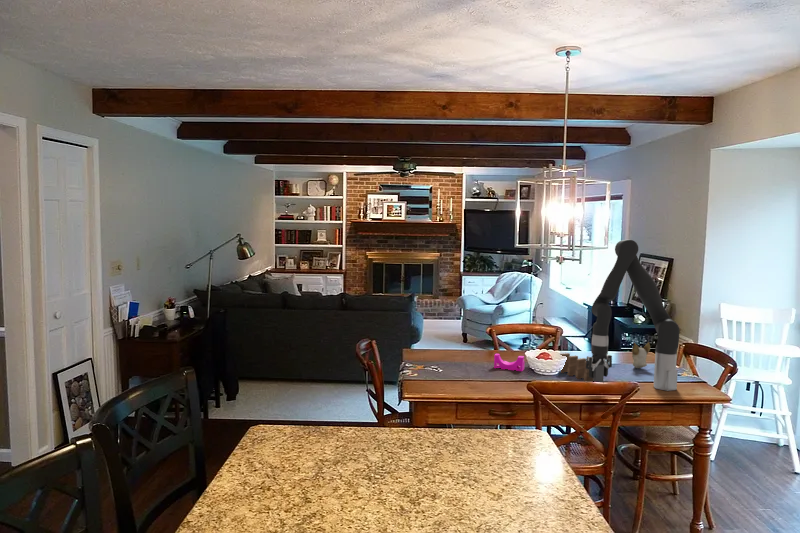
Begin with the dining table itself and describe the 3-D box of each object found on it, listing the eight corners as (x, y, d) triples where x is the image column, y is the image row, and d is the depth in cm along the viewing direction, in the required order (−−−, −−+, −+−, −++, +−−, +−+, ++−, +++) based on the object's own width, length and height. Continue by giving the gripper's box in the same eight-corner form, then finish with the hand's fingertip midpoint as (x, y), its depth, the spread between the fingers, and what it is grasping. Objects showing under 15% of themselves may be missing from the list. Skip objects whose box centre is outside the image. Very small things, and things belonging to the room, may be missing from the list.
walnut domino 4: (594, 381, 280) (595, 361, 279) (586, 382, 278) (587, 362, 277) (591, 380, 281) (592, 360, 281) (584, 381, 279) (584, 361, 279)
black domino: (603, 384, 275) (604, 364, 274) (595, 385, 272) (596, 365, 272) (600, 383, 276) (601, 363, 275) (592, 384, 274) (593, 364, 273)
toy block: (524, 369, 302) (524, 355, 302) (522, 371, 296) (522, 357, 296) (496, 366, 307) (496, 352, 307) (493, 368, 302) (494, 354, 301)
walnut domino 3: (585, 378, 285) (586, 358, 285) (577, 379, 283) (578, 359, 283) (583, 377, 287) (584, 358, 286) (575, 378, 285) (576, 358, 284)
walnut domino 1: (569, 372, 296) (569, 353, 296) (561, 373, 294) (562, 354, 293) (567, 371, 298) (567, 352, 297) (559, 372, 296) (560, 353, 295)
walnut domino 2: (577, 375, 291) (578, 356, 290) (569, 376, 289) (570, 356, 288) (574, 374, 292) (575, 355, 292) (567, 375, 290) (568, 356, 289)
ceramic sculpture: (641, 366, 313) (642, 339, 311) (652, 370, 304) (653, 342, 303) (624, 367, 310) (626, 340, 309) (634, 371, 302) (636, 343, 300)
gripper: (594, 346, 266) (592, 380, 268) (616, 344, 272) (615, 377, 273) (582, 343, 273) (581, 376, 274) (605, 341, 279) (603, 373, 280)
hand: (598, 377), depth 274 cm, fingers open, 8 cm apart
